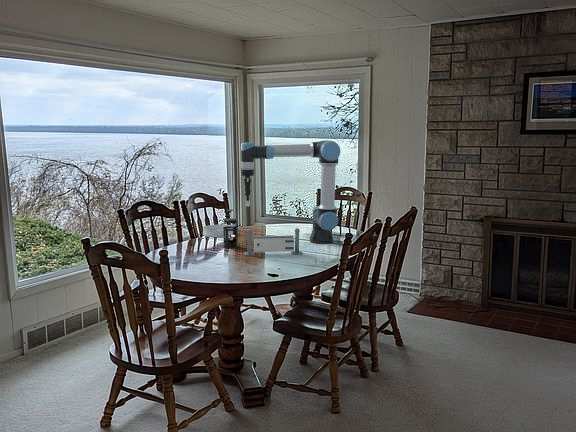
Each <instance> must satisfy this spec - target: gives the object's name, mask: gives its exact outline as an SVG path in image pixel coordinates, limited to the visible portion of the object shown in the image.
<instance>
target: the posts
mask: <svg viewBox="0 0 576 432" xmlns="http://www.w3.org/2000/svg"><path fill="white" fill-rule="evenodd" d="M300 231H301V230H300V228H299V227H296V228H294V251H290V253H291V255H292V256H296V255H297V256H298V255H302V256H303V255H304V254H303V251H302V250H300ZM246 233H247V235H246V236H247V237H246V240H247V243H246V245H247V251H244V253H243V255H244V257H246V256H248V257H250V256H253V257H255V256H256V252H254V251H253V247H252V246H253V244H252V243H253V241H252V240H253V239H252V234H253V231H252V229H251V228H248V229H246Z"/></svg>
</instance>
